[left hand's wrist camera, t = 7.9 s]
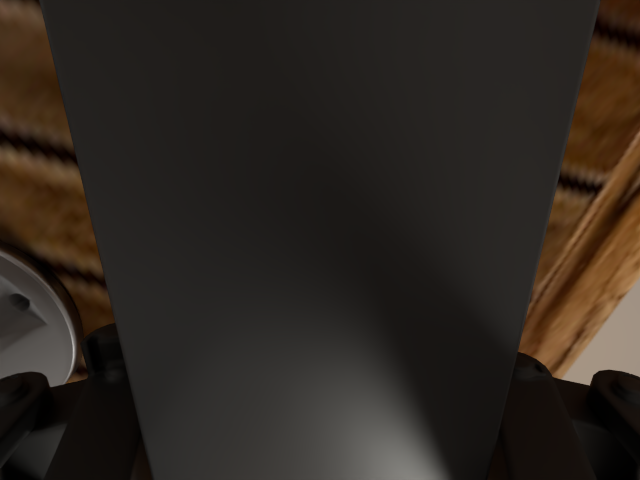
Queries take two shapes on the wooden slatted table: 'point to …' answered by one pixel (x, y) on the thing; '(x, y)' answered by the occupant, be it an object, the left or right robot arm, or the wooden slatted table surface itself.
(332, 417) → the bar
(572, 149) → the wooden slatted table surface
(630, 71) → the wooden slatted table surface
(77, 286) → the wooden slatted table surface
